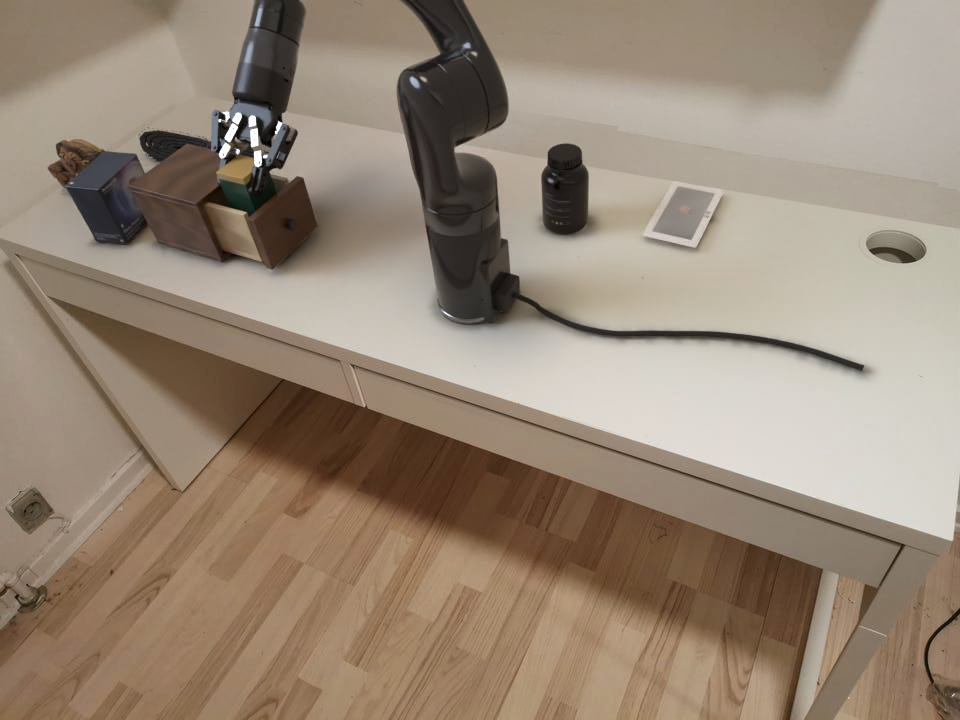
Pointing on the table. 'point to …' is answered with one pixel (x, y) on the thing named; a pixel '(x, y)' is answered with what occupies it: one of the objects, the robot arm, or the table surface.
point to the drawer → (264, 223)
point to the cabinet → (181, 200)
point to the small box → (109, 197)
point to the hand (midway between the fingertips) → (239, 190)
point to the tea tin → (243, 185)
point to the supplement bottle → (565, 190)
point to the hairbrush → (174, 143)
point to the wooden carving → (72, 159)
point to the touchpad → (683, 214)
